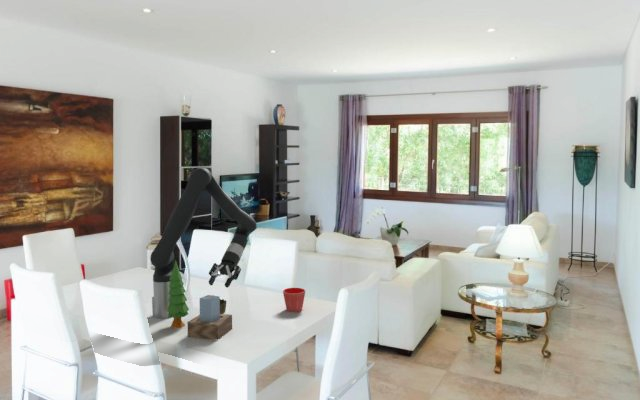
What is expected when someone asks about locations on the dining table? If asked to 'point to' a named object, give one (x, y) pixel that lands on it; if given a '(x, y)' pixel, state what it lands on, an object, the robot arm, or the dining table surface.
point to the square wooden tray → (209, 327)
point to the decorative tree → (177, 298)
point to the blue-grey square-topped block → (209, 308)
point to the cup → (222, 306)
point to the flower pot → (294, 299)
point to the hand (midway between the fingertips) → (218, 285)
